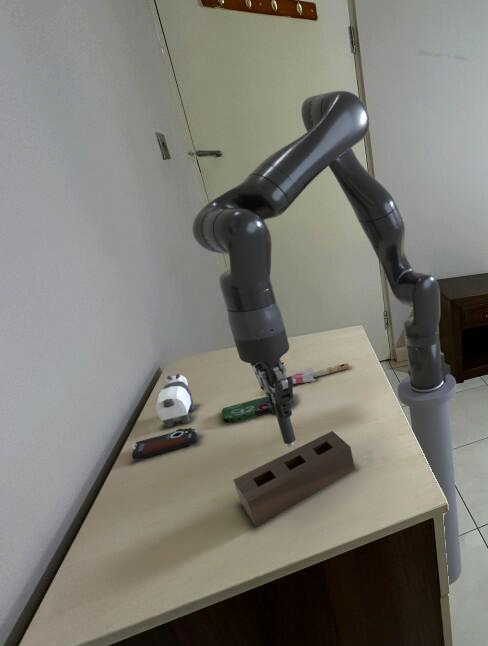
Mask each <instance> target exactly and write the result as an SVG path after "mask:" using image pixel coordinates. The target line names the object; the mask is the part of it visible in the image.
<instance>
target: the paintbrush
mask: <svg viewBox="0 0 488 646" xmlns="http://www.w3.org/2000/svg"><path fill="white" fill-rule="evenodd" d="M349 369H350V365H349V362H346V363H342V364H337V365H332V366H330V367H325V368H321V369H317V370H313V368H312V367H310V368H307V369H304V370H302V371H299V372H296V373H295V374H292V375H289V376H288V377H291V378H292V379H293V385H294V384H302V383H303V384H304V383H309V382H316V379H315V378H317V377H321V376H325V375H329V374H333V373H337V372H340V371H342V370H349Z"/></svg>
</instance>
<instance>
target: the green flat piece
mask: <svg viewBox="0 0 488 646" xmlns="http://www.w3.org/2000/svg"><path fill="white" fill-rule="evenodd" d="M268 397H270V396H268ZM268 397H267V396H266V395H265V396H263V397H259V398H255V399H252V400H248V401H244V402H241V403H237V404H233V405H229V406H225V407H222V409H221V415H222V420H223V422H224V423H225V424H232V423H238V422H242V421H243V422H244V421H246V420H248V419H252V418H255V417H257V416H260V415H264V414H269V413H270V414H272V415H275V414H274V413H273V412H272V409H271V405H270V402H269V398H268ZM288 401H289V404H290V408H292V407H293V406H295V404H296V400H295V396H294V395H293V399H290V400H288Z"/></svg>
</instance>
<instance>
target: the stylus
mask: <svg viewBox="0 0 488 646" xmlns="http://www.w3.org/2000/svg"><path fill="white" fill-rule="evenodd" d="M270 395H271V394H270ZM271 399H272V397H271ZM273 406H274V402H273ZM274 409H275V406H274ZM275 413H276V409H275ZM275 416H276V419H277V424H278V427H279V431H280V434H281V437H282V441H283V444H285V445H287V447H293V446H295V441H296V439H297V438H296V435H295V431H294V428H293V424H292V420H291V416H290V417H288V418H285V419H283V420H280V419H279V418H278V416H277V413H276V414H275Z"/></svg>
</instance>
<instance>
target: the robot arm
mask: <svg viewBox="0 0 488 646" xmlns="http://www.w3.org/2000/svg"><path fill="white" fill-rule="evenodd" d="M300 110H301V111H300V113H301V118H302V123H303V126H304V128H305V131H306V132H305V133H304V134H302V135H301V136H300V137H298V138H296V139H295V140H293V141H292V142H290V143H288V144H287V145H284V146H282V147H281V148H280V149H278V150H276V151H275V152H273V153H272V154H271V155H269V156H268V157H267V158H265V159H264V160H263V161H262V162H261V163H260V164H258V165H257V167H256V168H255V169H254V170H253V171H251V173H249V174H248V176H247V177H246V178H245V179H244V180H243V181H242V182H240V183H239V184H238V185H236V186H234V187H232V188H231V189H228V190H227V191H226V192H224V193H222V194H221V195H219V196H217V197H215V198H214V199H213V200H211V201H210V202H209V203H207V204H206V205H204V206H203V207H202V208H201V209H200V210H199V212H198V213H197V214H196V215H195V217H194V219H193V222H192V225H191V227H192V230H191V231H192V235H193V238H194V240H195V241H196V243H197V244H198V245H199V246H200V247H202V248H203V249H204V250H207V251H209V252H212V253H215V254H225V255H228V258H229V269H228V270H225V271H224V272H222V273H221V274H220V276H219V280H218V283H219V288H220V291H221V295H222V298H223V301H224V304H225V308H226V314H227V321H228V324H229V328H230V331H231V334H232V339H233V341H234V345H235V348H236V351H237V354H238V357H239V359H240V361H242V362H244V363H245V364H246V363H247V364H250V366H251V367H252V370H253V372H254V375H255V377H256V379H257V381H258V384H259V387H260V389H261V390H262V391H264V395H265V397H266V396H267V397H268V396H270V397H268V398H269V402H270V405H271V409H272V412H273V413H274V414H273V415H276V413H277V416H278V418H279V419H280V420H283V419H285V418H288V417H290V418H291V416H292V415H293V412H292V409H291V408H292V407H291V408H290V404H289V401H288V400H290V399H293V396H294V384H293V379H292V378H291V377H289V376H287V373H286V372H287V368H286V364H285V362H284V361H281V358H282V357H283V356H284V355H286V354H287V353H288V352H289V350H290V344H289V340H288V336H287V332H286V327H285V324H284V319H283V316H282V312H281V310H280V306H279V305H278V302H277V299H276V294H275V289H274V285H273V282H272V280H271V270H272V235H271V231H270V229H269V227H268V224H267V223H266V222H265V220H266V221H267V220H269V219H276V218H278V217H280V216H281V215H283V214H284V213H285V212H286V211H287V210H288V209H289V207H291V205H292V204H293V203H294V202H295V201H296V200H297V198H298V197H299V196H300V195H301V194H302V193H303V192H304V191H305V190H306V188H307V187H308V186H309V185H310V184H311V183H312V182H313V181H314V180H315V179H316V178H317V177H318V176H319V175H320V174H321V173H322V172H323V171H324V170H325V169H327V168H328V167H329V169H330V171H331V172H332V174H333V176H334V177H335V179H336V181H337V183H338V185H339V186H340V188H341V191H342V192H343V194H344V195H345V197H346V199H347V201H348V202H349V205H350V206H351V209H352V210H353V212H354V215H355V217H356V219H357V221H358V223H359V225H360V226H361V229H362V230H363V232H364V234H365V236H366V237H367V239H368V241H369V243H370V246H371V247H372V249H373V251H374V253H375V255H376V257H377V259H378V261H379V263H380V265H381V267H382V269H383V272H384V274H385V277H386V279H387V282H388V284H389V287H390V290H391V293H392V294H393V297H394V298H395V300H396V301H397V302H398V303H400V304H402V305H403V306H407V307H409V308H412V314H413V315H412V316H410V317H409V318H407V319H406V320H404V322H403V333H404V343H405V351H406V359H407V368H408V369H407V370H408V371H407V373H408V376H409V377H410V388H411V389H412V390H413V391H414V392H417V393H430V392H434V391H436V390H438V389H440V388H441V387H442V386H443V383H445V382H446V377H445V376H446V375H447V374H451V373H452V372H451V365H449V364H448V363H446V362H445V354H444V352H443V351H441V341H440V327H439V325H440V320H441V289H440V285H439V282H438V280H437V278H436V277H434V276H433V275H432V274H427V273H422V272H418V271H415V270H414V269H413V267H412V265H411V264H410V261H409V260H408V257H407V255H406V253H405V238H406V226H405V221H404V219H403V217H402V216H403V215H402V214H401V212H400V210H399V207H398V205H397V203H396V201H395V199H394V196H393V195H392V194H391V193H390V192H389V190H387V188H386V187H384V185H383V184H381V182H379V180H378V179H376V178H375V177H374V176H373V175H372V174H371V173H370V172H369V171H368V170H367V169H366V168H365V167H364V166H363V165H362V163H361V162H360V161H359V159H358V157H357V155H356V154H355V152H354V150H353V147H355V146H356V145H357V144H359V143H360V142H361V141H363V140H364V139H365V138H366V137H367V134H368V133H369V130H370V115H369V112H368V109H367V107H366V105H365V103H364V101H362V100H361V97H359V96H357V95H356V94H355V93H354V92H352V91H347V90H334V91H330V92H326V93H321V94H316V95H312V96H309V97H307V98H305V99H304V101H303V102H302V104H301V109H300ZM270 394H271V395H270ZM271 397H272V399H271ZM273 402H274V406H275V409H276V413H275V409H274V406H273ZM277 416H276V417H277Z"/></svg>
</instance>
